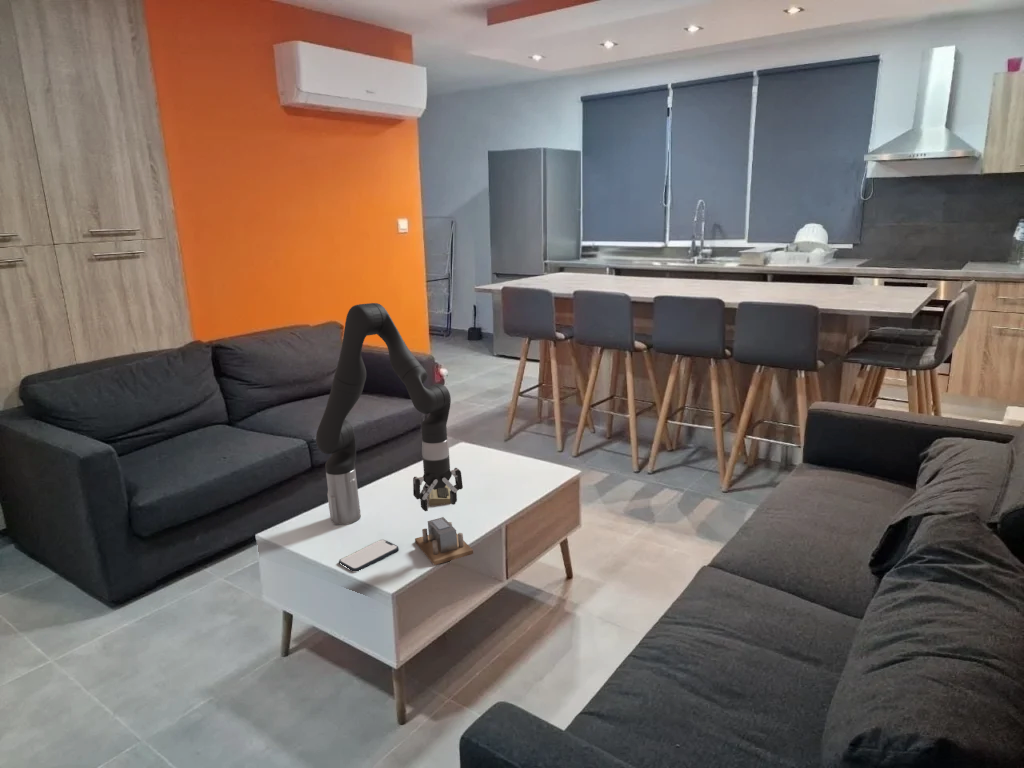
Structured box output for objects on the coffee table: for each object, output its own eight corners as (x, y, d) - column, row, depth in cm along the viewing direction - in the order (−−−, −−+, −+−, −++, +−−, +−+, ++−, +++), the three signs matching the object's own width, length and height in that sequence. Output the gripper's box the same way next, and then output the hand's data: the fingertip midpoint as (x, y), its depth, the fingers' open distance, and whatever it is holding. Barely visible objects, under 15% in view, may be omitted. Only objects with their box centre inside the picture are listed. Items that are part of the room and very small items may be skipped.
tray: (434, 565, 187) (432, 548, 186) (415, 542, 201) (413, 526, 200) (473, 553, 193) (472, 537, 191) (452, 532, 206) (450, 516, 205)
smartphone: (355, 575, 186) (400, 551, 197) (354, 570, 185) (400, 546, 196) (337, 565, 192) (382, 542, 203) (336, 560, 191) (382, 538, 202)
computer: (453, 504, 227) (452, 495, 226) (429, 507, 226) (428, 498, 225) (449, 486, 242) (449, 478, 241) (427, 489, 241) (426, 480, 240)
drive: (441, 553, 191) (439, 533, 190) (429, 539, 200) (427, 520, 198) (457, 549, 193) (456, 529, 192) (444, 535, 202) (443, 516, 201)
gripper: (416, 463, 183) (420, 517, 187) (464, 453, 189) (467, 506, 194) (407, 455, 190) (411, 507, 194) (454, 445, 196) (457, 496, 200)
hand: (439, 506), depth 194 cm, fingers open, 8 cm apart
